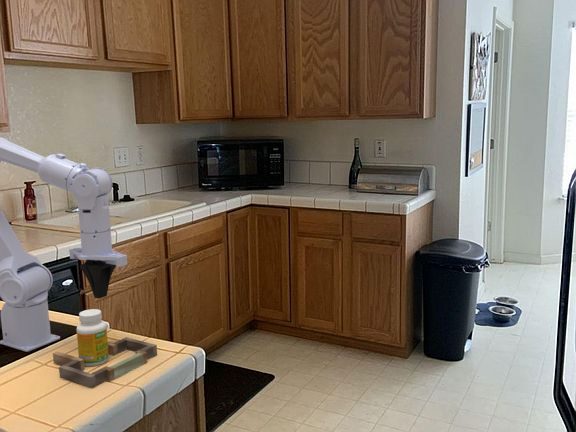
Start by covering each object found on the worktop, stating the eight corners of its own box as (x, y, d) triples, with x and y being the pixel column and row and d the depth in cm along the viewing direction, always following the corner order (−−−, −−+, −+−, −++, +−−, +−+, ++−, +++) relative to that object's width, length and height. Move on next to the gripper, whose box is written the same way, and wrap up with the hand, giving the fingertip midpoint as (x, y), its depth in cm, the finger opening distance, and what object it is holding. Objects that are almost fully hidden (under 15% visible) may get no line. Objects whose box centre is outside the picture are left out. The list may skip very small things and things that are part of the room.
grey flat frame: (37, 370, 103) (36, 360, 102) (105, 340, 116) (104, 331, 116) (94, 389, 95) (93, 378, 94) (160, 355, 108) (159, 345, 108)
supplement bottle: (99, 367, 103) (95, 318, 102) (73, 366, 104) (69, 316, 103) (114, 356, 108) (110, 308, 107) (89, 354, 109) (85, 307, 108)
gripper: (54, 230, 110) (60, 297, 112) (104, 237, 102) (110, 308, 105) (83, 224, 116) (88, 287, 118) (133, 230, 108) (138, 297, 111)
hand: (100, 296), depth 112 cm, fingers closed
